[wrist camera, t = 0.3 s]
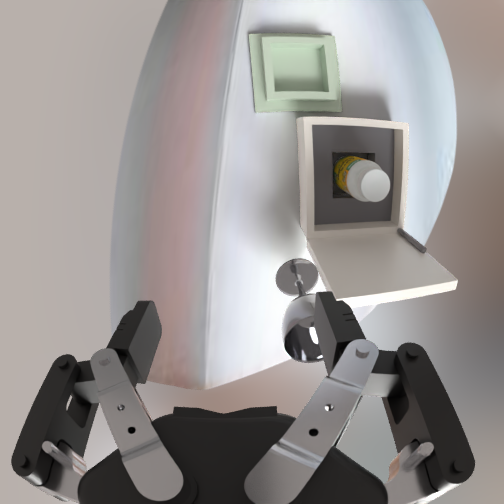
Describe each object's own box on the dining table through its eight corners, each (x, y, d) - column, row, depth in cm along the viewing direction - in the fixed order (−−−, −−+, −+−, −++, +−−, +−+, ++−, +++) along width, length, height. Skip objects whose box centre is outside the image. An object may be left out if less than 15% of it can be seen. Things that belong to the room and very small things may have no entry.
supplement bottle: (353, 196, 39) (380, 216, 30) (324, 178, 38) (347, 194, 29) (370, 166, 37) (402, 179, 28) (342, 147, 36) (369, 154, 27)
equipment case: (296, 118, 34) (341, 108, 17) (391, 122, 34) (479, 130, 17) (300, 233, 41) (335, 309, 24) (387, 228, 41) (455, 289, 24)
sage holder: (248, 35, 29) (248, 28, 26) (332, 37, 28) (339, 30, 25) (255, 112, 34) (256, 111, 31) (340, 112, 34) (348, 110, 31)
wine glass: (330, 272, 44) (360, 332, 31) (299, 305, 47) (316, 369, 34) (294, 247, 42) (315, 304, 29) (263, 283, 45) (270, 348, 31)
